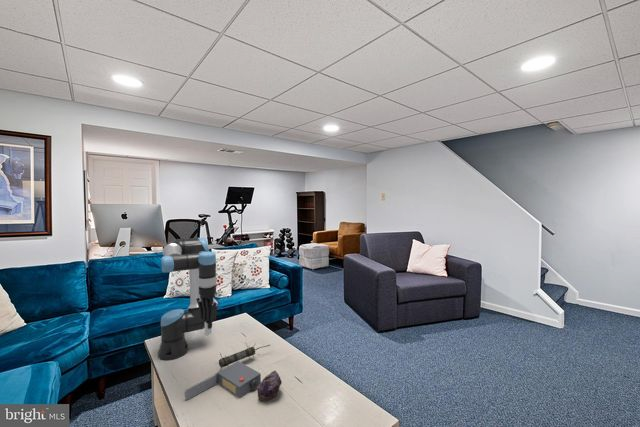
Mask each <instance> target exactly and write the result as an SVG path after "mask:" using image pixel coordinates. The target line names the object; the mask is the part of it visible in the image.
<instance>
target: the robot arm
mask: <svg viewBox="0 0 640 427" xmlns="http://www.w3.org/2000/svg"><path fill="white" fill-rule="evenodd" d="M162 255H163V256H162V257H161V271H162V273H173V272H181V271H188V275H189V298H190V304H189V306H188V307H187V310H184V309H183V308H177V309H172V310H169V311H167V312H165V313H163V315H162V316H161V318H160V330H161V331H160V332H161V336H160V341H161V342H160V345H159V349H158V351H157V356H158V357H159V358H160V359H159V358H158V359H159V360H162V361H172V360H176V359H178V358H181V357H183V356H185V354H187V353H188V351H189V345H188V341H187V340H186V337H185V334H187V333H191V332H195V331H201V330H204V336H206V337H208V336H209V335H212V333H213V332H212V330H213V329H212V328H213V322H214V321H216V320H217V313H218V309H219V308H218V307H219V305H220V301H217V300H216V293H217V258H216V257H217V256H216V252H214V251H210V249H209V243H208V241H207V239H206V238H205V237H193V238H192V237H191V238H177V239H174V240H171V241H170V242H167V243H166V244H165V245H164V246H163V248H162Z"/></svg>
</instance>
